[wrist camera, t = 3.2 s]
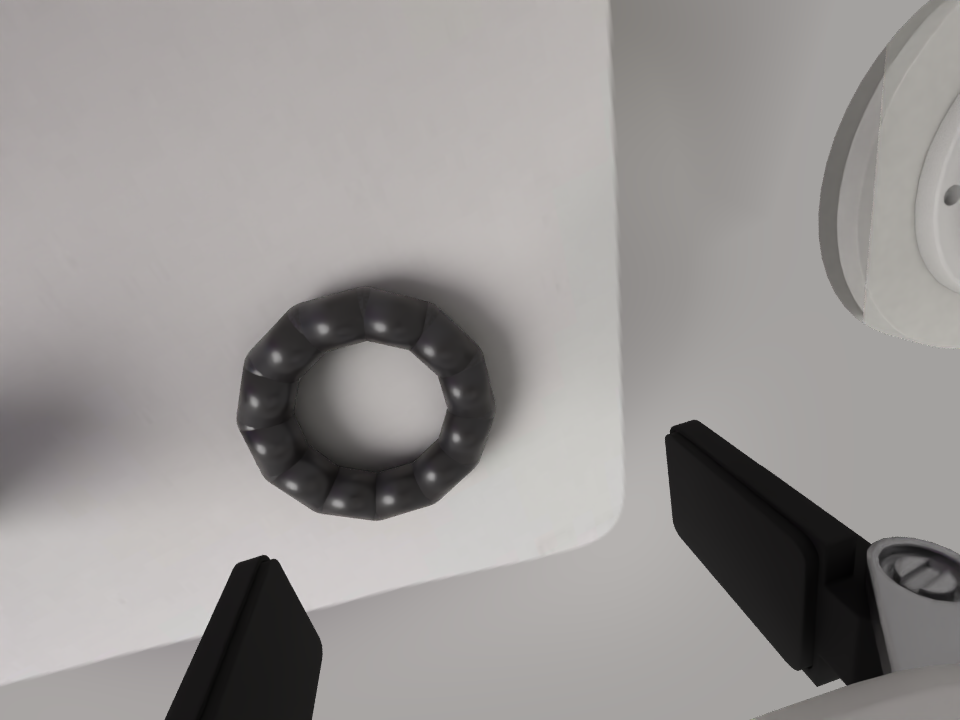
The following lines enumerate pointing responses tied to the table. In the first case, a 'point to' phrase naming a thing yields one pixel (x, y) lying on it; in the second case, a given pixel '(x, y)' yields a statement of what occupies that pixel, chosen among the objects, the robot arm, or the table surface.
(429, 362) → the ring
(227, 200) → the table surface
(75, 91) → the table surface
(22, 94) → the table surface
